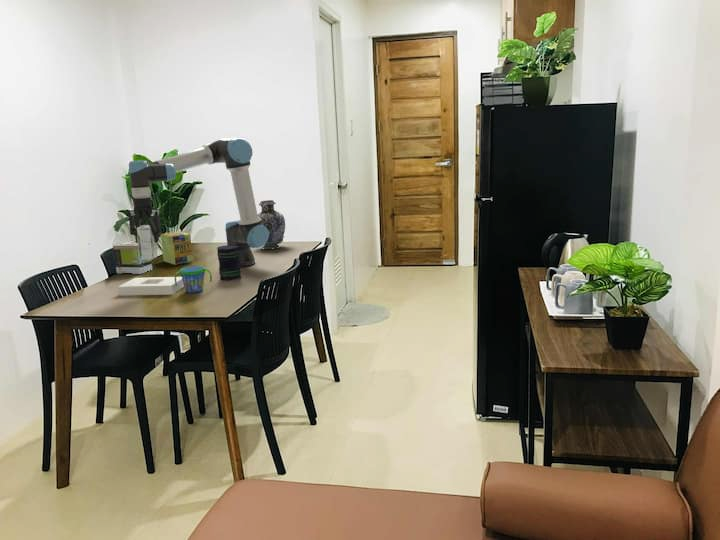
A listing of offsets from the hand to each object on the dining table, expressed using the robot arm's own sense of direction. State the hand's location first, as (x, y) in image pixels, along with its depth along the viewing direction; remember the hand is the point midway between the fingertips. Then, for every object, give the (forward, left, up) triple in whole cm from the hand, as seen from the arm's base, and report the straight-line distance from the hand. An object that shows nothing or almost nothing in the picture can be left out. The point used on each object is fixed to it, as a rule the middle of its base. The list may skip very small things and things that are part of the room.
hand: (148, 249), depth 262 cm
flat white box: (0, 0, -18) cm, 18 cm away
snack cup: (-20, +3, -19) cm, 28 cm away
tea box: (+27, -38, -19) cm, 50 cm away
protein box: (+13, -61, -19) cm, 65 cm away
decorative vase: (-31, -93, -19) cm, 100 cm away
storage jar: (-29, -20, -19) cm, 40 cm away
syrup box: (0, 0, -4) cm, 4 cm away
